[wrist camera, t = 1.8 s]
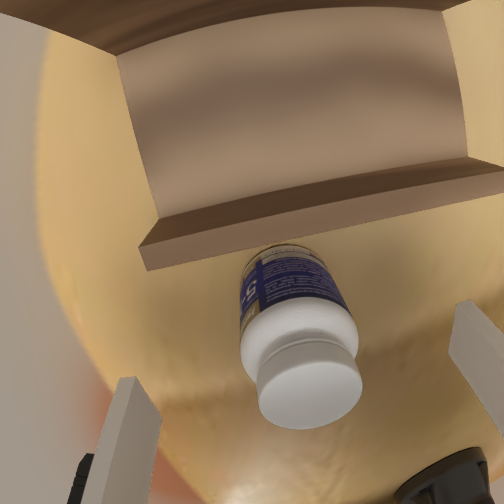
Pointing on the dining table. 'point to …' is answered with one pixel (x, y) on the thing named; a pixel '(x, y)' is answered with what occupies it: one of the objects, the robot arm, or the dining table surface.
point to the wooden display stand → (281, 113)
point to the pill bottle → (297, 339)
